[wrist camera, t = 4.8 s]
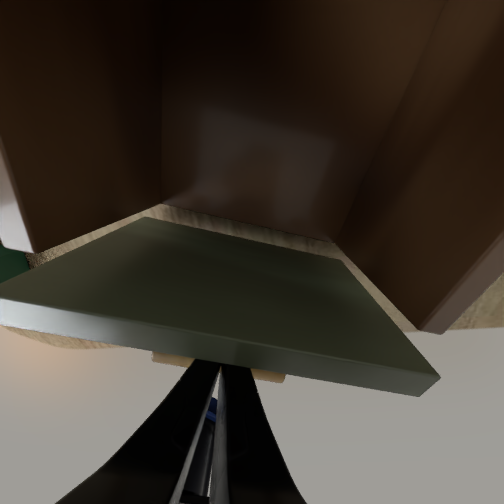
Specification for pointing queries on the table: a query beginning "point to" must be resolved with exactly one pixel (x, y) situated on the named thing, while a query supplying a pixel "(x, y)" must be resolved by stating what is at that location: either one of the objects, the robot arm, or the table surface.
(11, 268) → the green marker
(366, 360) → the drawer
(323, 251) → the table surface
